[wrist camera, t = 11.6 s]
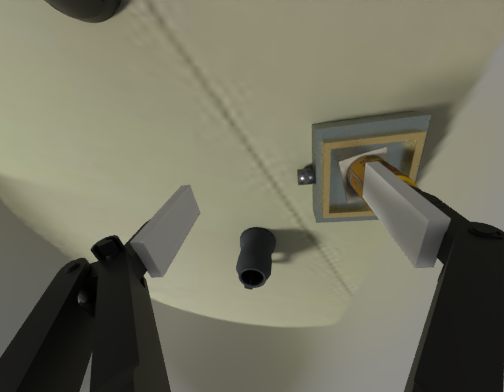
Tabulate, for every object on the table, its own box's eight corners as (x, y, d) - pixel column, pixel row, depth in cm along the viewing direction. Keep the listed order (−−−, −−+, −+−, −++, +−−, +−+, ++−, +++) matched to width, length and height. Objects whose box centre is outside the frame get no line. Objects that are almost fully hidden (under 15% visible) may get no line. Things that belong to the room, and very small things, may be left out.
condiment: (386, 146, 32) (439, 174, 21) (391, 191, 35) (439, 235, 24) (338, 161, 34) (364, 194, 23) (347, 202, 37) (374, 248, 26)
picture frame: (294, 126, 37) (297, 133, 31) (411, 111, 33) (438, 115, 28) (298, 210, 45) (301, 227, 39) (393, 204, 41) (411, 223, 36)
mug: (243, 223, 48) (233, 257, 39) (279, 231, 48) (279, 268, 38) (235, 258, 54) (226, 295, 44) (268, 266, 54) (266, 305, 44)
